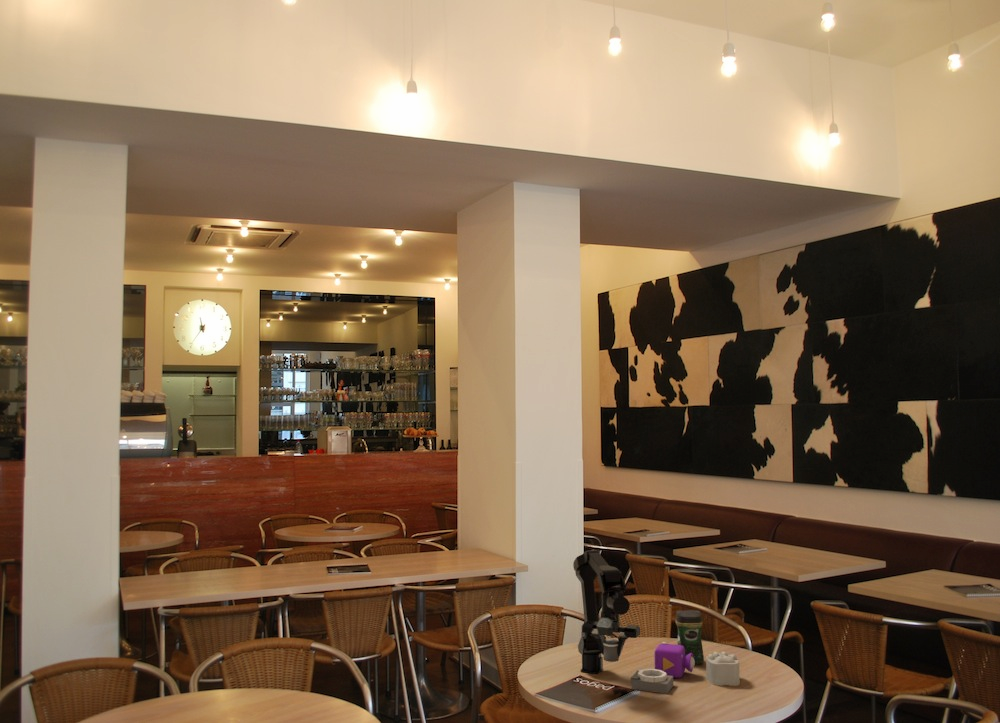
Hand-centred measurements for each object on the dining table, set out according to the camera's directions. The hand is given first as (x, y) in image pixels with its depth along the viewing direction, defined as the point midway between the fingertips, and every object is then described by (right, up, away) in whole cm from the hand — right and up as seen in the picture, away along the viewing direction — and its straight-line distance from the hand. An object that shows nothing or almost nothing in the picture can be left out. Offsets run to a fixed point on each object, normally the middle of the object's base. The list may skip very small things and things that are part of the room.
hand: (611, 655), depth 275 cm
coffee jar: (+32, -13, +28) cm, 44 cm away
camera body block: (+14, -11, +1) cm, 18 cm away
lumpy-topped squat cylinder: (+39, -11, +8) cm, 41 cm away
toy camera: (+24, -12, +14) cm, 30 cm away
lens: (0, -1, 0) cm, 1 cm away
